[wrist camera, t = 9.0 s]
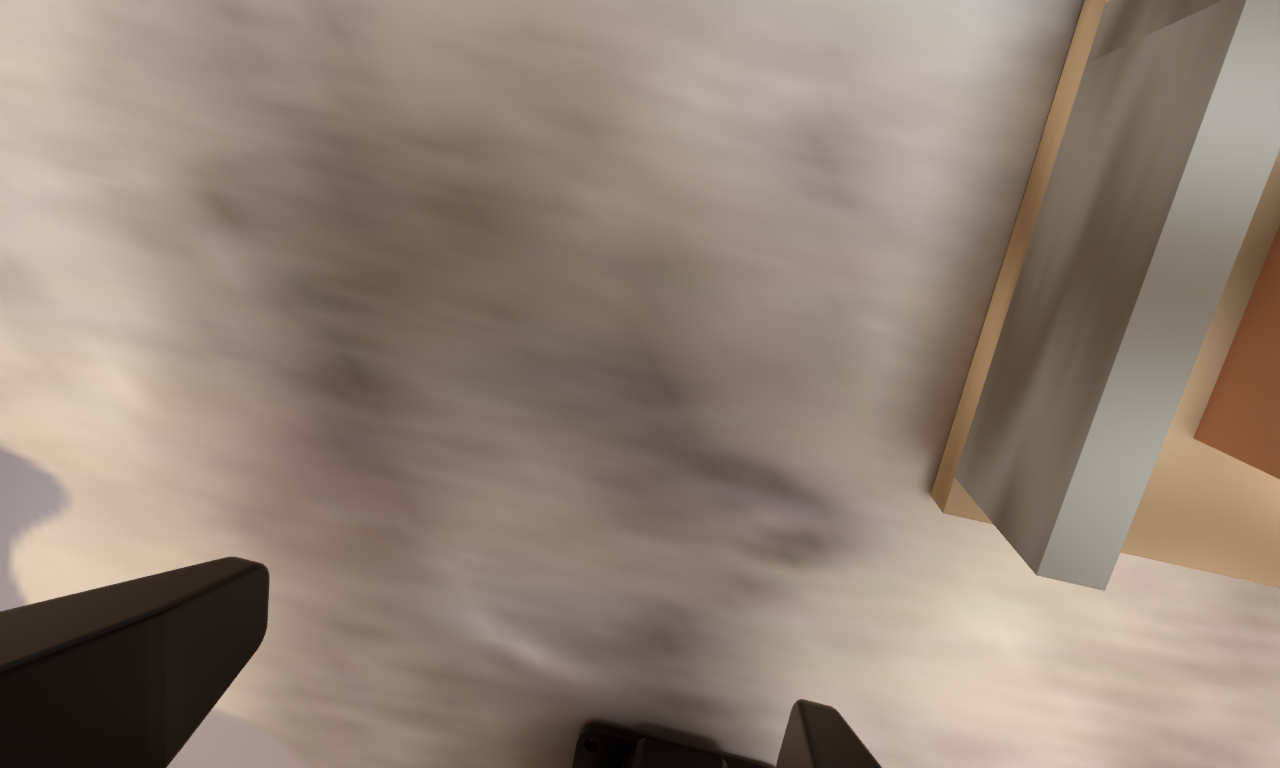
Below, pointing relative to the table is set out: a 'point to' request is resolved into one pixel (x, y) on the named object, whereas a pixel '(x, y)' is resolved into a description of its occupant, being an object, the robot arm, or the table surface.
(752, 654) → the table surface
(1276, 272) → the block
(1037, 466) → the corner board
